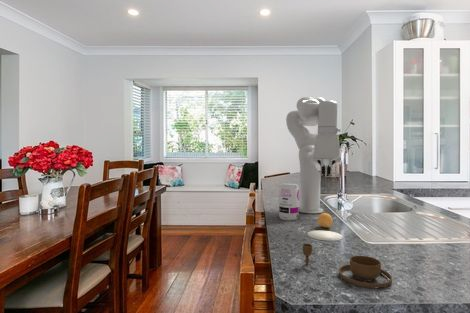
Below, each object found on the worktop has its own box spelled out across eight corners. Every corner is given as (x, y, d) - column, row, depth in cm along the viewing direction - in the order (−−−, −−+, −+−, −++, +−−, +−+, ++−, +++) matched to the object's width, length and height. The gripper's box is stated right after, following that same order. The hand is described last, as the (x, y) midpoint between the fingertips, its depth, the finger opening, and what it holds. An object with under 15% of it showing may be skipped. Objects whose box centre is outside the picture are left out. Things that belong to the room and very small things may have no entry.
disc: (308, 229, 120) (308, 229, 120) (342, 232, 116) (342, 232, 116) (306, 238, 108) (306, 238, 108) (344, 242, 105) (344, 241, 105)
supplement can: (297, 216, 141) (297, 183, 140) (299, 221, 133) (299, 185, 132) (278, 216, 142) (279, 182, 141) (279, 220, 134) (280, 184, 133)
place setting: (358, 299, 68) (359, 271, 67) (297, 266, 85) (298, 244, 85) (410, 283, 76) (411, 258, 75) (345, 256, 93) (345, 236, 93)
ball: (317, 224, 127) (318, 211, 127) (332, 226, 126) (332, 212, 125) (317, 228, 122) (317, 214, 122) (332, 229, 120) (332, 215, 120)
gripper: (346, 132, 133) (344, 176, 133) (308, 131, 137) (307, 174, 137) (347, 131, 125) (346, 177, 126) (307, 131, 129) (306, 176, 130)
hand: (325, 176), depth 132 cm, fingers closed
